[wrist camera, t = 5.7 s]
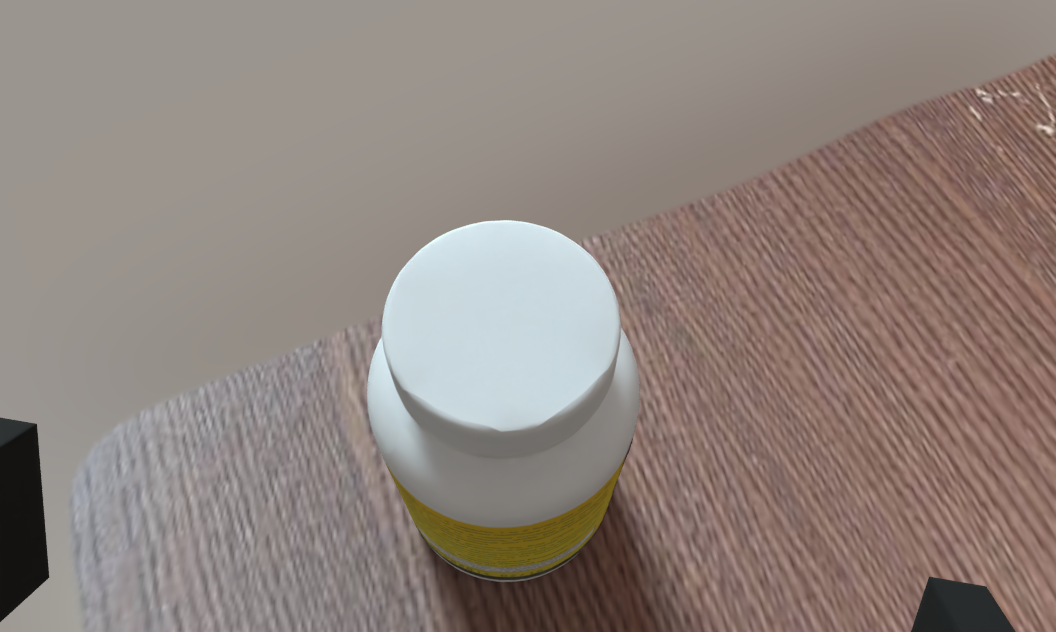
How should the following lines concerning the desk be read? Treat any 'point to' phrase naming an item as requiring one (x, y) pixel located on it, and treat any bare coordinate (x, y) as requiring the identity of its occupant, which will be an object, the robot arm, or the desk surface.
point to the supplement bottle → (504, 397)
